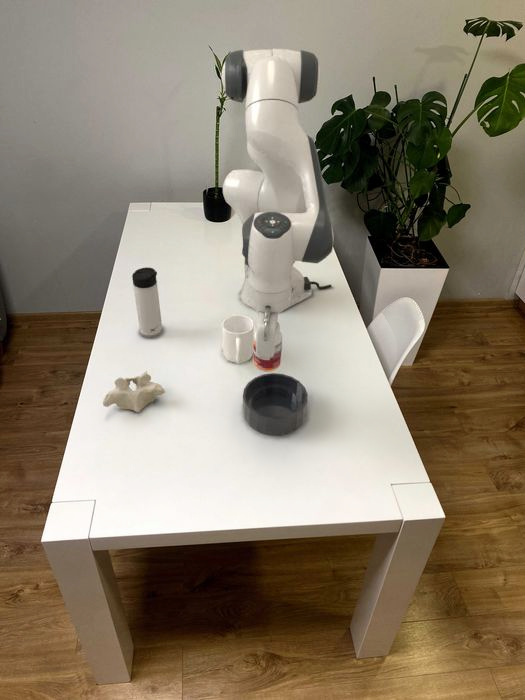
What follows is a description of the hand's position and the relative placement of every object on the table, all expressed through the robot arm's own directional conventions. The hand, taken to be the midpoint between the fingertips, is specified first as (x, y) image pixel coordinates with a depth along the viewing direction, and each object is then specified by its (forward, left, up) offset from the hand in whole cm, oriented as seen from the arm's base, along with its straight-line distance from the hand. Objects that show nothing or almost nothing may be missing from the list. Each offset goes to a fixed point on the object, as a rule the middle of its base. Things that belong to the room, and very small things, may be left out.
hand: (267, 346), depth 119 cm
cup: (-4, -21, -21) cm, 30 cm away
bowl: (-2, +1, -21) cm, 21 cm away
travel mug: (+12, -43, -21) cm, 49 cm away
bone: (+25, -18, -21) cm, 37 cm away
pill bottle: (0, 0, -5) cm, 5 cm away
